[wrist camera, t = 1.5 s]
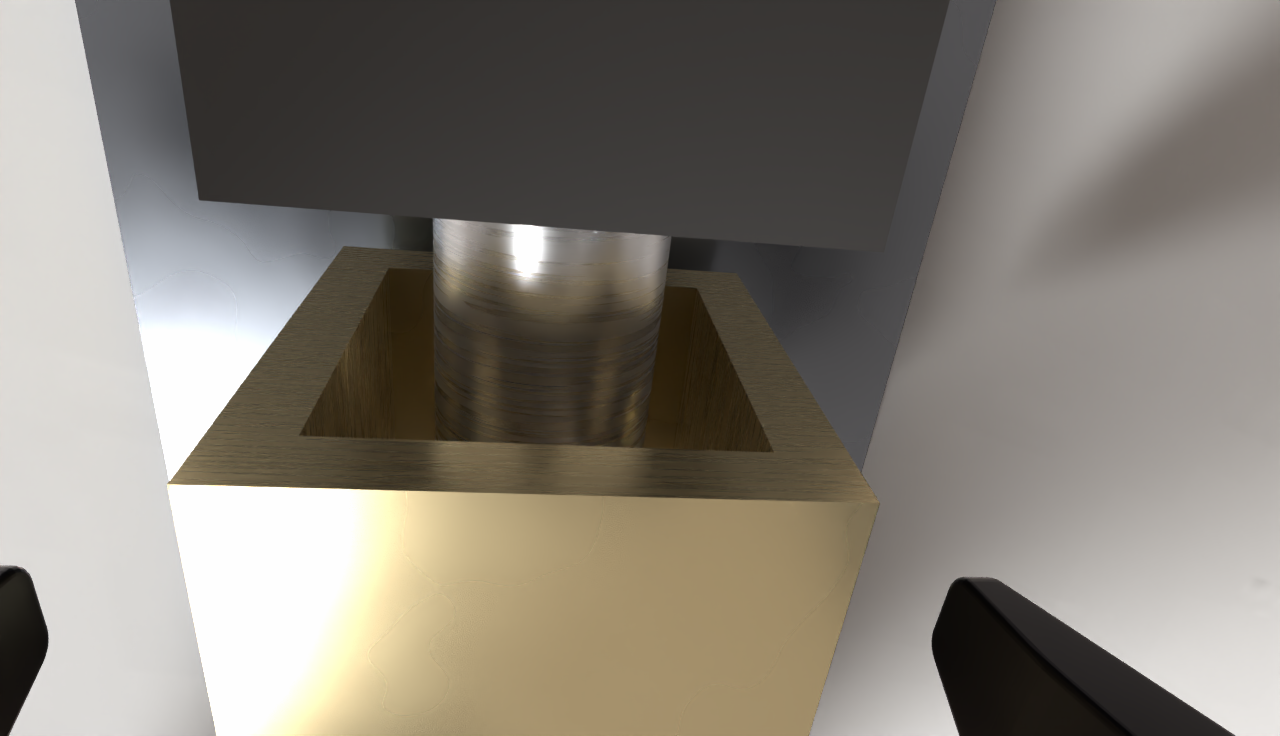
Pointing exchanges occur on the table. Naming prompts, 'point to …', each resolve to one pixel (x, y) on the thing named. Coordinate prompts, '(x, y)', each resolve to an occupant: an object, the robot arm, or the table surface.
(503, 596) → the sleeve
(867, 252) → the pipe rig
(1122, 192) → the table surface
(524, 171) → the dark grey square collar
